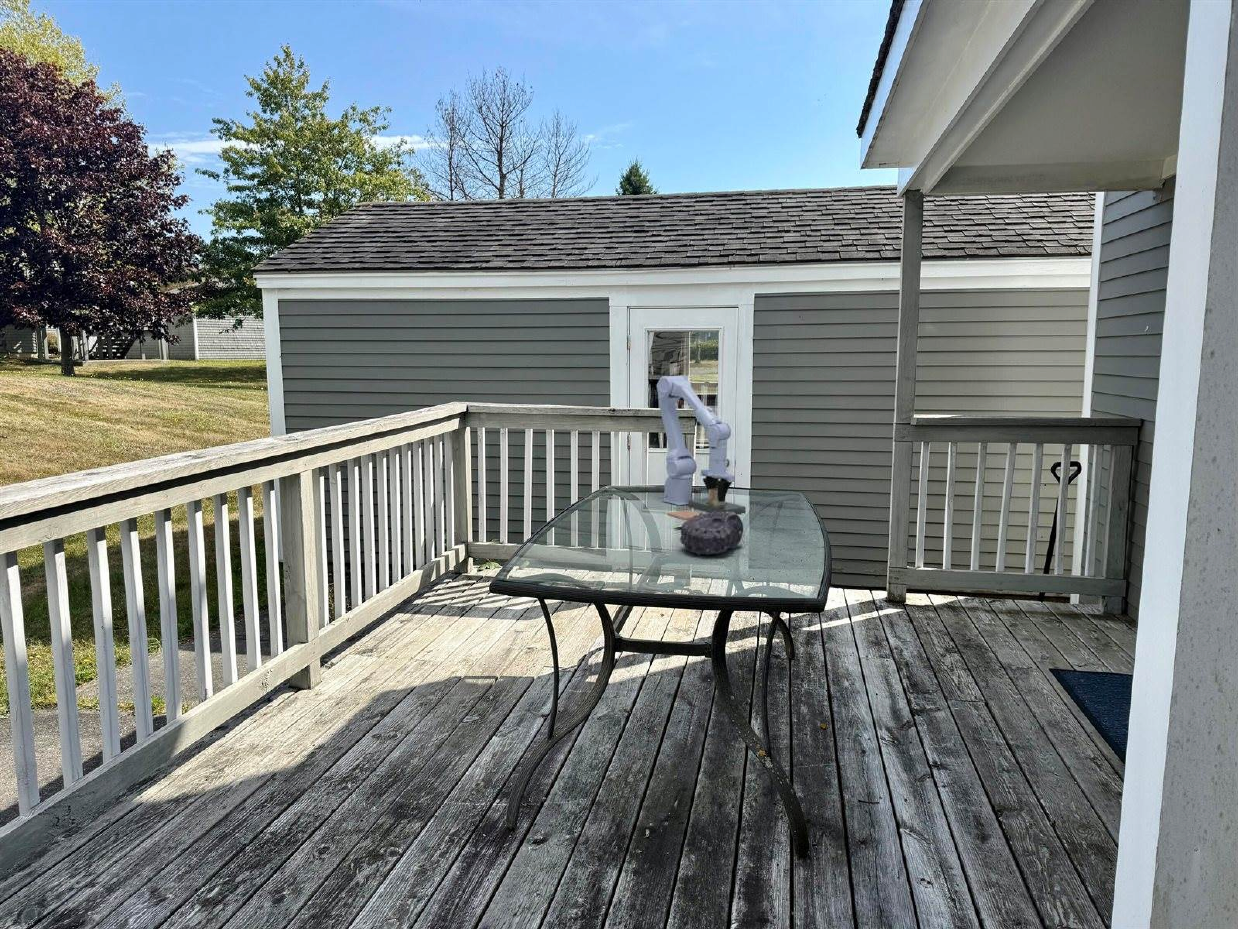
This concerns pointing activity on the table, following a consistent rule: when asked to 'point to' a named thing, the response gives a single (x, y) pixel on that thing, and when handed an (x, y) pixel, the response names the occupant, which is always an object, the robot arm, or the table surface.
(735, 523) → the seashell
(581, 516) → the table surface
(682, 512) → the tile
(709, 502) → the peg
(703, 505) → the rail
